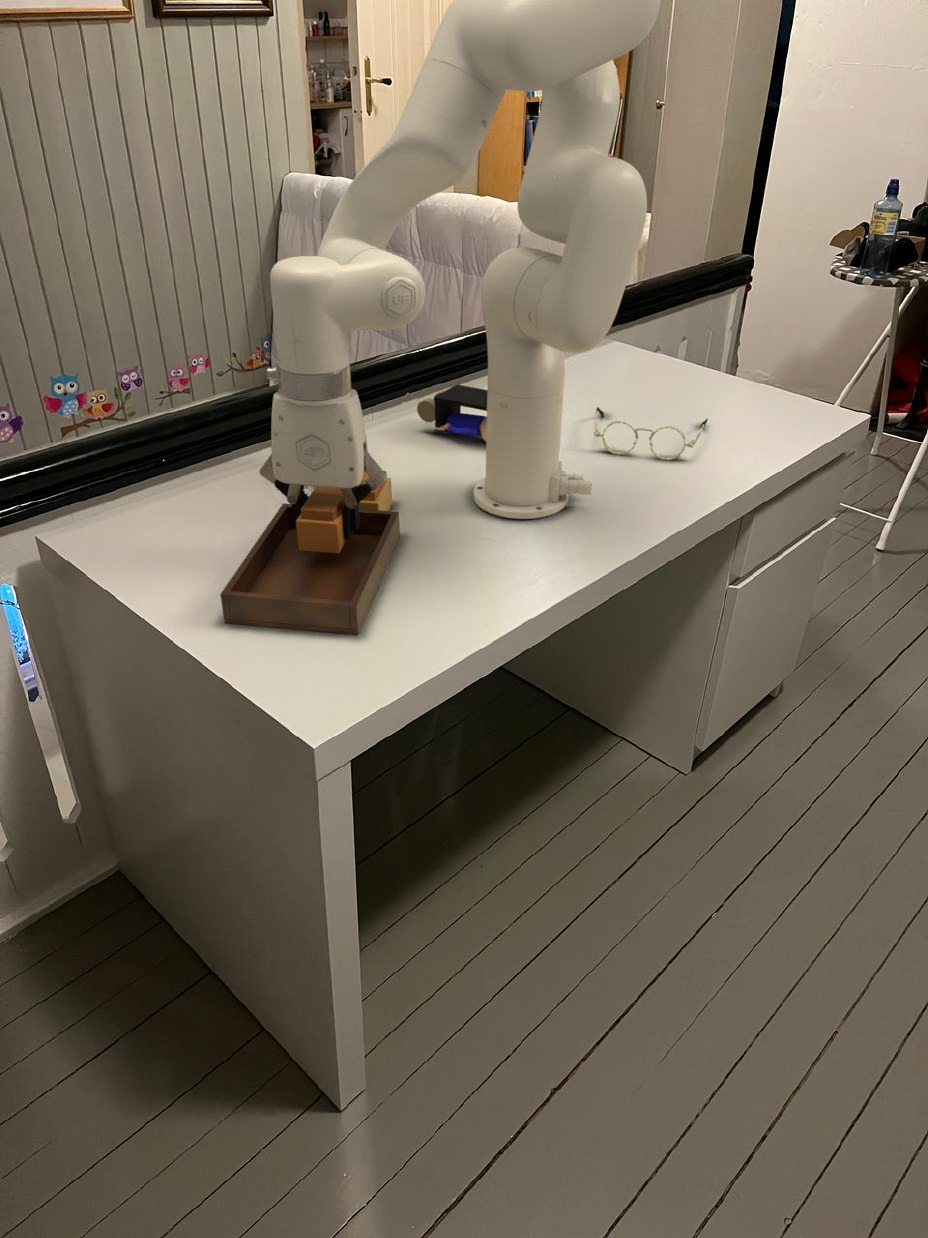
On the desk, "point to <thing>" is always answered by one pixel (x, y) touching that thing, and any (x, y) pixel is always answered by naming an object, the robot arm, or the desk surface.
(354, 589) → the brown wooden tray
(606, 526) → the desk surface
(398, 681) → the desk surface
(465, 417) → the figurine character
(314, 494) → the orange stepped block
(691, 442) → the round wire eyeglasses
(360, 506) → the stepped wooden block
